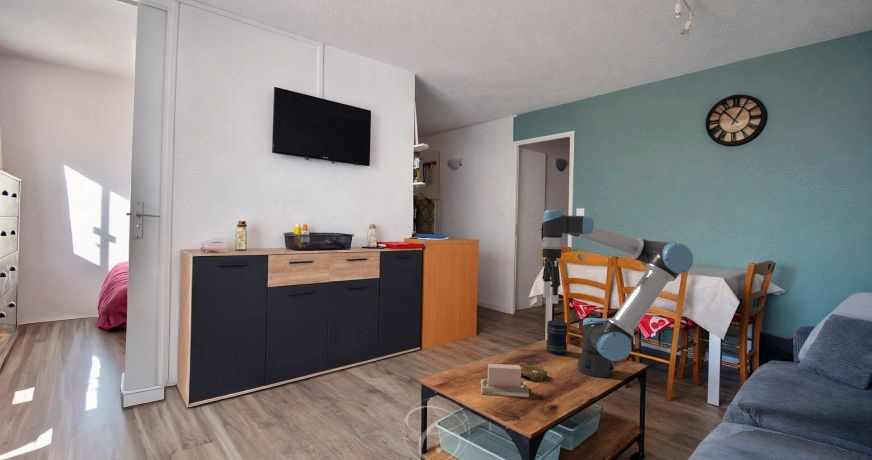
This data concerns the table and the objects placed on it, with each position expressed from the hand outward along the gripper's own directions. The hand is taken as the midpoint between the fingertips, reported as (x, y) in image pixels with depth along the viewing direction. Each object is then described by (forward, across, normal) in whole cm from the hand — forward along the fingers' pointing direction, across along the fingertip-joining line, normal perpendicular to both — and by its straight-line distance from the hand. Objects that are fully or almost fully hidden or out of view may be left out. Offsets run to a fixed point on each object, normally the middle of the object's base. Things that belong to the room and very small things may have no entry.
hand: (550, 300), depth 159 cm
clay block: (+32, +12, -19) cm, 39 cm away
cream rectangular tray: (+33, +12, -19) cm, 40 cm away
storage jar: (+33, -38, +13) cm, 52 cm away
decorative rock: (+33, -5, -7) cm, 34 cm away
